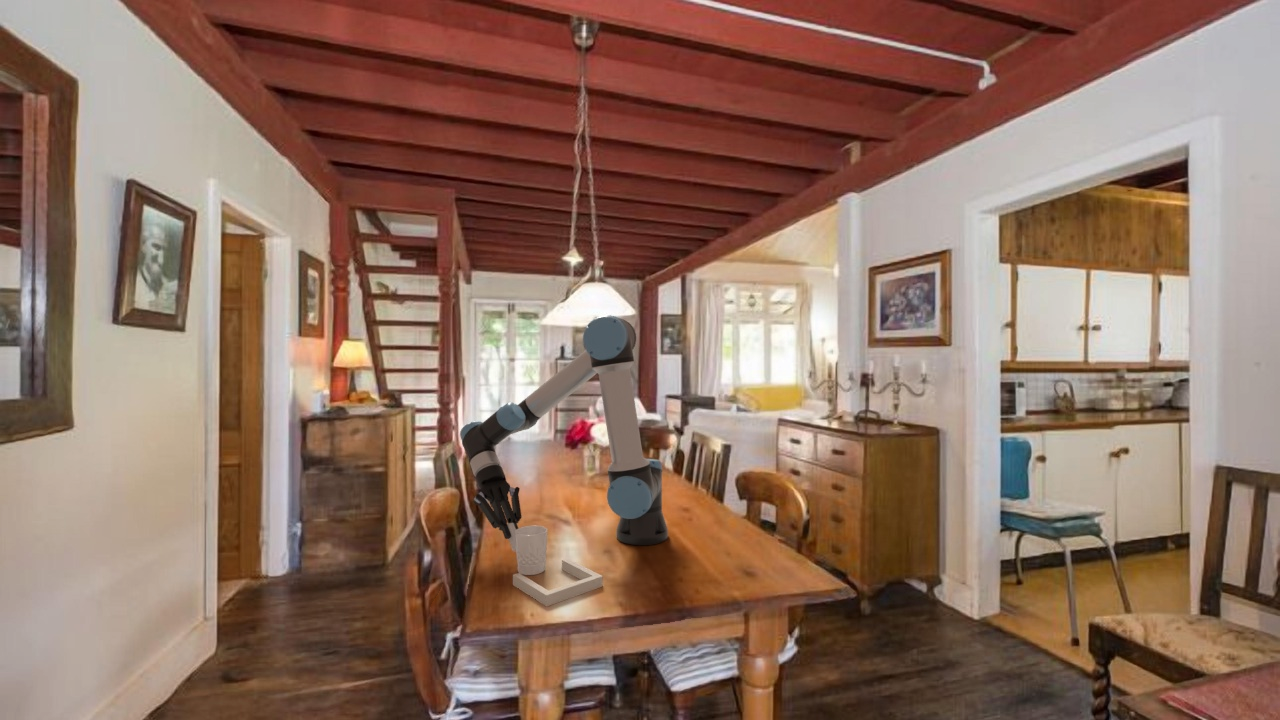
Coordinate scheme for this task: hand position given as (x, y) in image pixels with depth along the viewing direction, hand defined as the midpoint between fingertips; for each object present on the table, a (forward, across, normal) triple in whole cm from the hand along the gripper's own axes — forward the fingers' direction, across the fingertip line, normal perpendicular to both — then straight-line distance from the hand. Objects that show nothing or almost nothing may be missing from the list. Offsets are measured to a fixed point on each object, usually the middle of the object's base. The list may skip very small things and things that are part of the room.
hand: (517, 548), depth 139 cm
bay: (+15, -1, +8) cm, 17 cm away
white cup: (+7, -1, 0) cm, 7 cm away
